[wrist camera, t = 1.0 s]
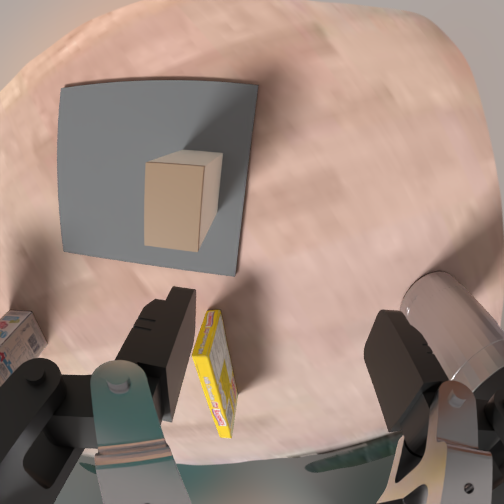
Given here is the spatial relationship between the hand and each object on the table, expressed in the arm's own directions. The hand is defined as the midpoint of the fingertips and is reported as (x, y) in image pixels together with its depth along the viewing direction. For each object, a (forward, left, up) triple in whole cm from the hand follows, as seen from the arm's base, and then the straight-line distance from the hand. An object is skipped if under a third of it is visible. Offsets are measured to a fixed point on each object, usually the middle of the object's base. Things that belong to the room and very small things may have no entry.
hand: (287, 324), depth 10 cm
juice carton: (+37, +26, -22) cm, 50 cm away
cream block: (+7, 0, -21) cm, 22 cm away
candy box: (+3, +23, -22) cm, 32 cm away
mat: (+13, 0, -22) cm, 26 cm away
